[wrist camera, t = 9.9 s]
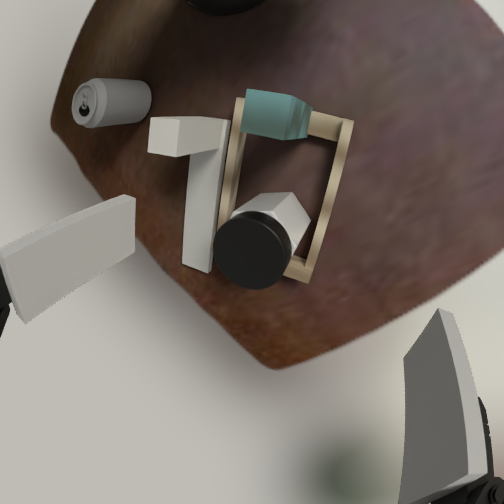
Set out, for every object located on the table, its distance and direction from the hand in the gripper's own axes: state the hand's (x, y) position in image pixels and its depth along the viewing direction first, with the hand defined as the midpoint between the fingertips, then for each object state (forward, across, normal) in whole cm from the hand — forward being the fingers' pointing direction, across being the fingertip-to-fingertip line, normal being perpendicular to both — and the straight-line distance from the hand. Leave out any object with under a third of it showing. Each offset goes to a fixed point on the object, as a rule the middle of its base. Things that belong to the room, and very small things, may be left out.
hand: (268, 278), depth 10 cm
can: (+27, -33, +5) cm, 43 cm away
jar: (+27, -5, -8) cm, 29 cm away
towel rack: (+27, -6, -3) cm, 28 cm away
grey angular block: (+27, -17, -8) cm, 33 cm away
